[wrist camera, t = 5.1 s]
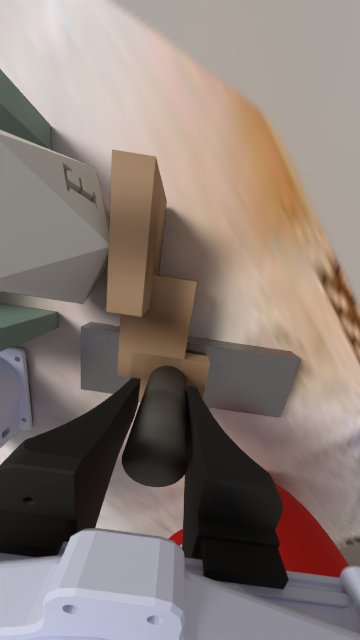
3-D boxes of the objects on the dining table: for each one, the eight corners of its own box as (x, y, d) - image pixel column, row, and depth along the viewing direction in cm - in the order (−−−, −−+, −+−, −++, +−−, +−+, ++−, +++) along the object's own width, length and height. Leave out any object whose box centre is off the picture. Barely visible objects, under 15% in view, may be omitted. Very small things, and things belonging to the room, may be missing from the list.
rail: (272, 405, 17) (280, 417, 16) (89, 379, 17) (80, 389, 16) (290, 351, 16) (301, 359, 14) (90, 322, 16) (80, 326, 14)
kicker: (197, 390, 17) (211, 505, 8) (126, 380, 17) (67, 485, 8) (233, 212, 13) (325, 94, 4) (139, 197, 13) (54, 49, 4)
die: (124, 308, 16) (140, 240, 7) (-2, 325, 12) (-284, 231, 3) (108, 229, 17) (104, 85, 8) (-11, 224, 13) (-237, -35, 5)
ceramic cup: (165, 439, 19) (145, 612, 9) (317, 457, 19) (456, 648, 9) (155, 517, 22) (132, 706, 12) (284, 533, 22) (361, 731, 13)
